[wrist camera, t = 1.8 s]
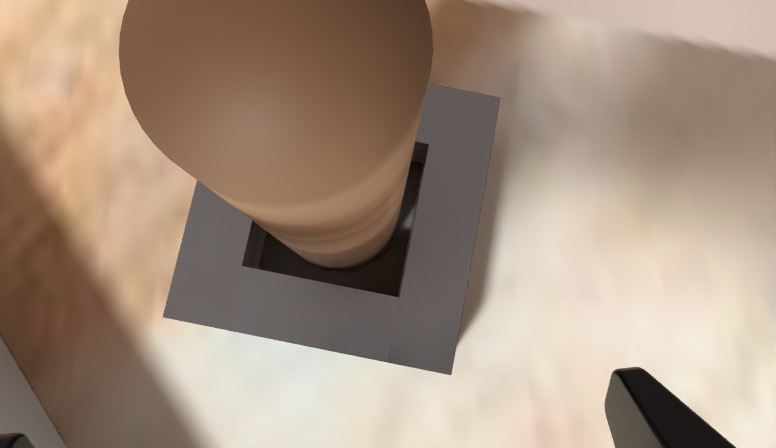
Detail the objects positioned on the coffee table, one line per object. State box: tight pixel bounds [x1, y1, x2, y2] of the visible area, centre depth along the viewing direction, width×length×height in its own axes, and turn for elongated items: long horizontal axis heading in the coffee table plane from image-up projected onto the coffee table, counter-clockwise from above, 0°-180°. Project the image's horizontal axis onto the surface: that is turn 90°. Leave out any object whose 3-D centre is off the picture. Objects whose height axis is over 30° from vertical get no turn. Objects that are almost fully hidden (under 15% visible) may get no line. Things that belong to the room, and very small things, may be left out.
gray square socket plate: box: [163, 84, 500, 375], centre depth 20 cm, size 9×9×2 cm
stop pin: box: [119, 0, 433, 272], centre depth 15 cm, size 4×4×14 cm
